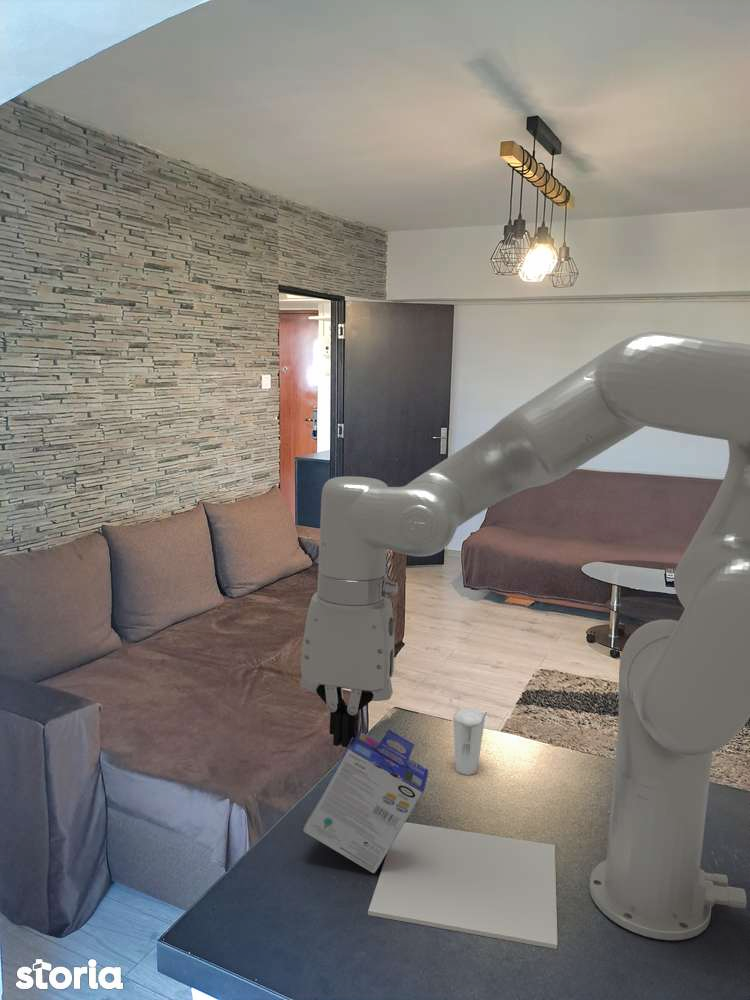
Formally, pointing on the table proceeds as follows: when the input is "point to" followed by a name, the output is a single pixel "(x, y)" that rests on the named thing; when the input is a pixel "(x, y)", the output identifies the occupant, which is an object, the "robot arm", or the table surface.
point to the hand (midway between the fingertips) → (343, 740)
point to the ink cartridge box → (368, 799)
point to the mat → (470, 884)
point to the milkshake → (468, 739)
